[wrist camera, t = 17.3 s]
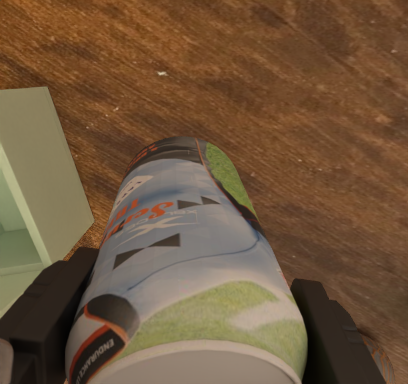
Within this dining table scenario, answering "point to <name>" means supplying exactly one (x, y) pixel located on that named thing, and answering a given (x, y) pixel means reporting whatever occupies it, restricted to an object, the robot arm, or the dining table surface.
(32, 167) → the case
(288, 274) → the dining table surface
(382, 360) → the vase
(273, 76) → the dining table surface
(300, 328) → the beverage can
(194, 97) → the dining table surface
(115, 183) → the dining table surface
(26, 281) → the lid
